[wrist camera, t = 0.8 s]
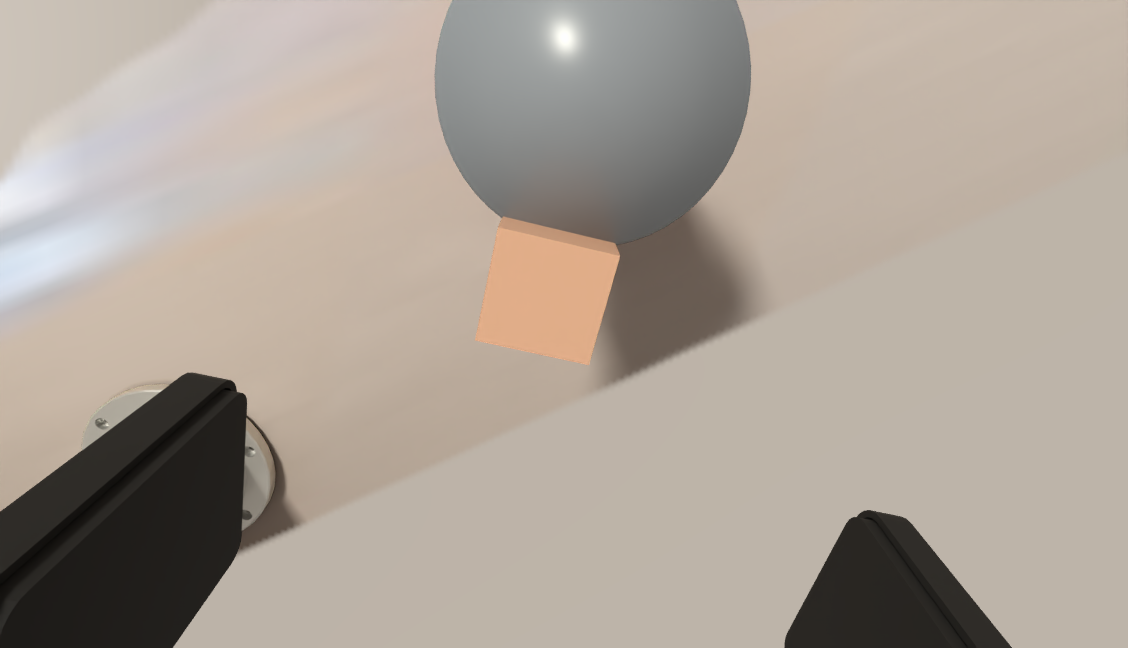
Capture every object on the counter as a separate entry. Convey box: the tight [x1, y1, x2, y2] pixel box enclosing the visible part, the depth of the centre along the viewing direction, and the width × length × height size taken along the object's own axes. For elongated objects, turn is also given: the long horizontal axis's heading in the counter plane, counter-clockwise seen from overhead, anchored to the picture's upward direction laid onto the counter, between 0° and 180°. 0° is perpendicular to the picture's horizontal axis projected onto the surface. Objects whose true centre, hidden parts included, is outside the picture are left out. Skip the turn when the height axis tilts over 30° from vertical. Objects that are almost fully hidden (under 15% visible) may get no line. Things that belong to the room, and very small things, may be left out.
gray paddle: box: [435, 0, 751, 365], centre depth 18 cm, size 14×10×2 cm
